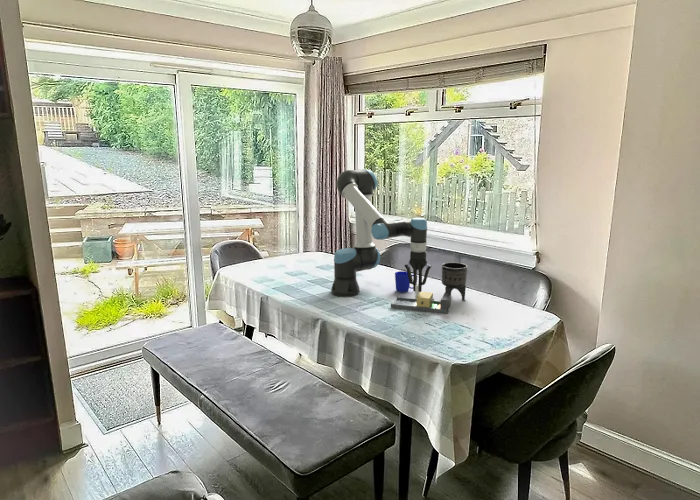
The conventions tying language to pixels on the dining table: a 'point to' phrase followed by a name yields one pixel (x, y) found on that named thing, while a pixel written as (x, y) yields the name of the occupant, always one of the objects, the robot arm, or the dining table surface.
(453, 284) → the planter
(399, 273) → the mug
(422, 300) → the block
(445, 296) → the dark grey block
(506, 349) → the dining table surface
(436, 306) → the tray
